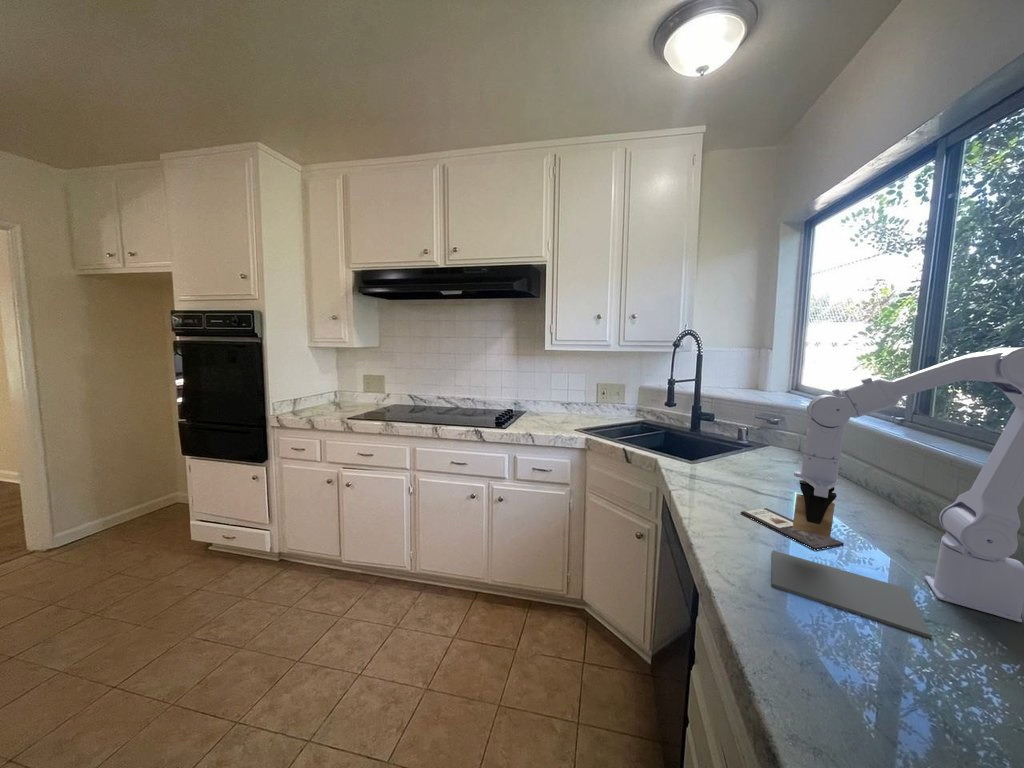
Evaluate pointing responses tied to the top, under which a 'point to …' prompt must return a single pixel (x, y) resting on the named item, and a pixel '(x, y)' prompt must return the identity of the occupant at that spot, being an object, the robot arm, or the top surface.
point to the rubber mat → (848, 592)
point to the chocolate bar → (790, 529)
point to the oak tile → (804, 525)
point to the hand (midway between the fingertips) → (812, 520)
